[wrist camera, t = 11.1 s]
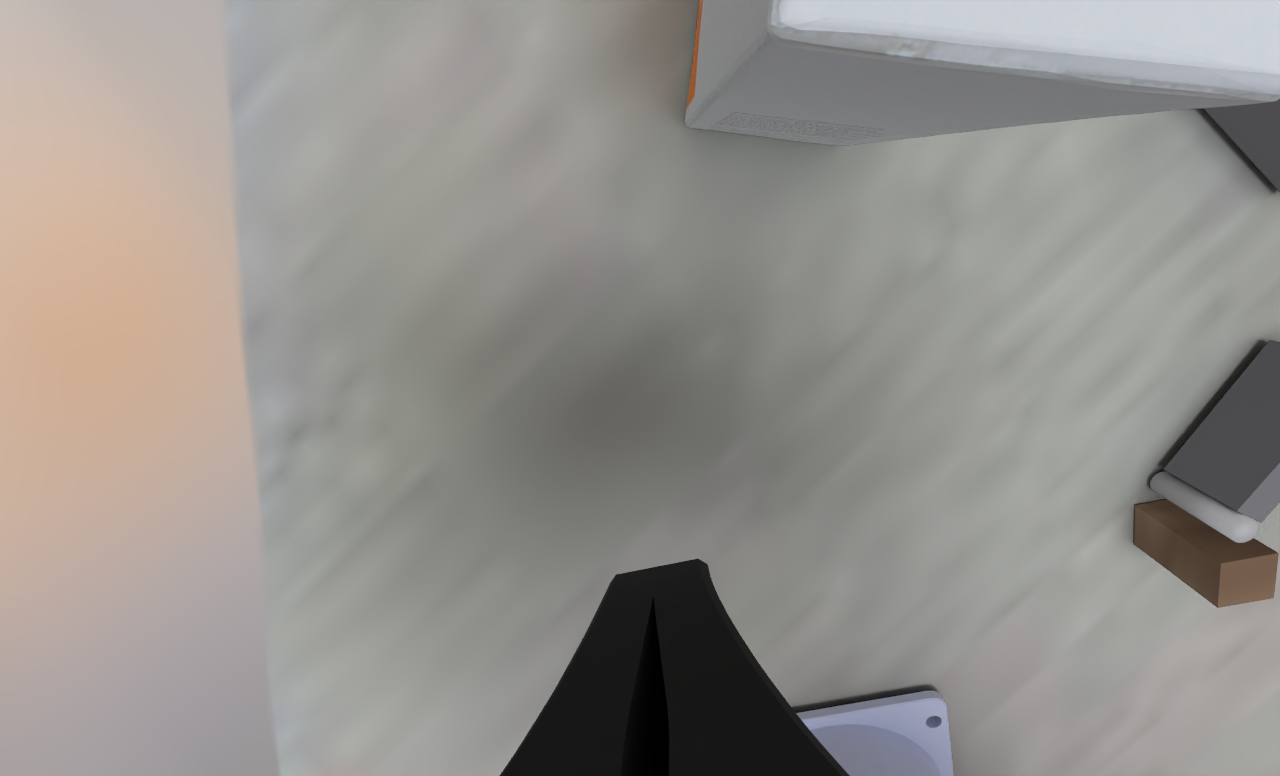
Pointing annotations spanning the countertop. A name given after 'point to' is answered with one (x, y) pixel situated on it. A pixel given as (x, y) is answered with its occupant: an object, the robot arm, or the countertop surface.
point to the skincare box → (970, 64)
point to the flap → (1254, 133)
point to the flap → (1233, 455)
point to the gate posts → (1205, 555)
